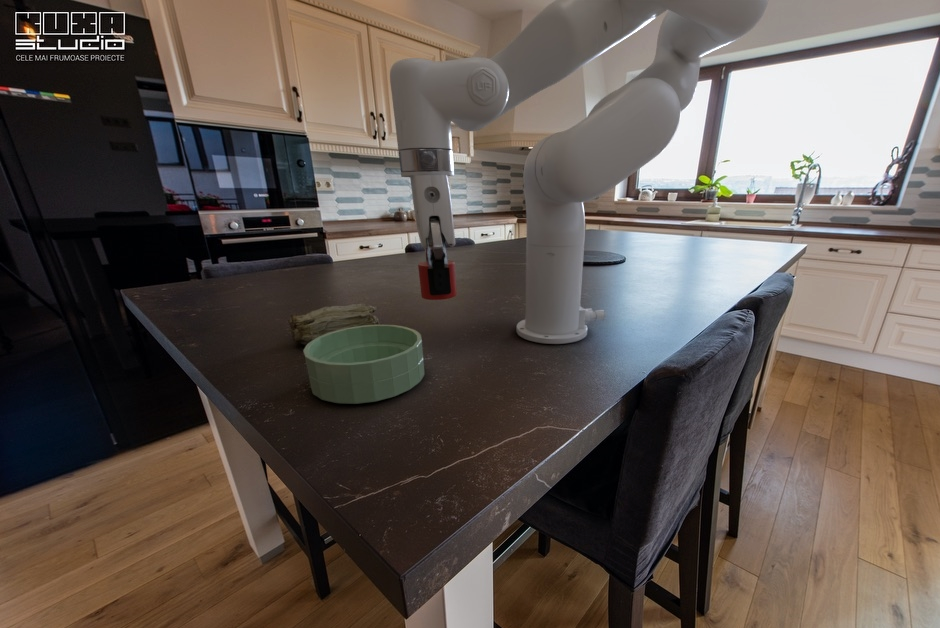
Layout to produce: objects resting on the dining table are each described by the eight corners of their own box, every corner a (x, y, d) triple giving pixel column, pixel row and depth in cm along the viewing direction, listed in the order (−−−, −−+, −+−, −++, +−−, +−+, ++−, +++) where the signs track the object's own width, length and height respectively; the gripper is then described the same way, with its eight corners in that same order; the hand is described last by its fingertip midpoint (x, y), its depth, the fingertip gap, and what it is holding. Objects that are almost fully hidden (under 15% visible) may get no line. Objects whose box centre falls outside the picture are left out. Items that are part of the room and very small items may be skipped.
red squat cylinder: (454, 289, 66) (451, 252, 64) (459, 298, 61) (456, 258, 59) (420, 292, 65) (416, 254, 63) (422, 301, 60) (417, 260, 58)
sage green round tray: (422, 355, 61) (419, 321, 59) (427, 399, 48) (423, 357, 46) (322, 364, 57) (316, 329, 56) (299, 414, 45) (290, 370, 43)
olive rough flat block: (301, 355, 61) (294, 322, 59) (287, 338, 68) (280, 308, 66) (390, 335, 69) (387, 305, 67) (370, 322, 76) (366, 295, 74)
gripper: (461, 161, 49) (470, 301, 56) (447, 168, 65) (455, 277, 71) (399, 161, 48) (416, 306, 54) (400, 168, 63) (413, 280, 70)
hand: (438, 288), depth 63 cm, fingers closed on red squat cylinder, 5 cm apart
